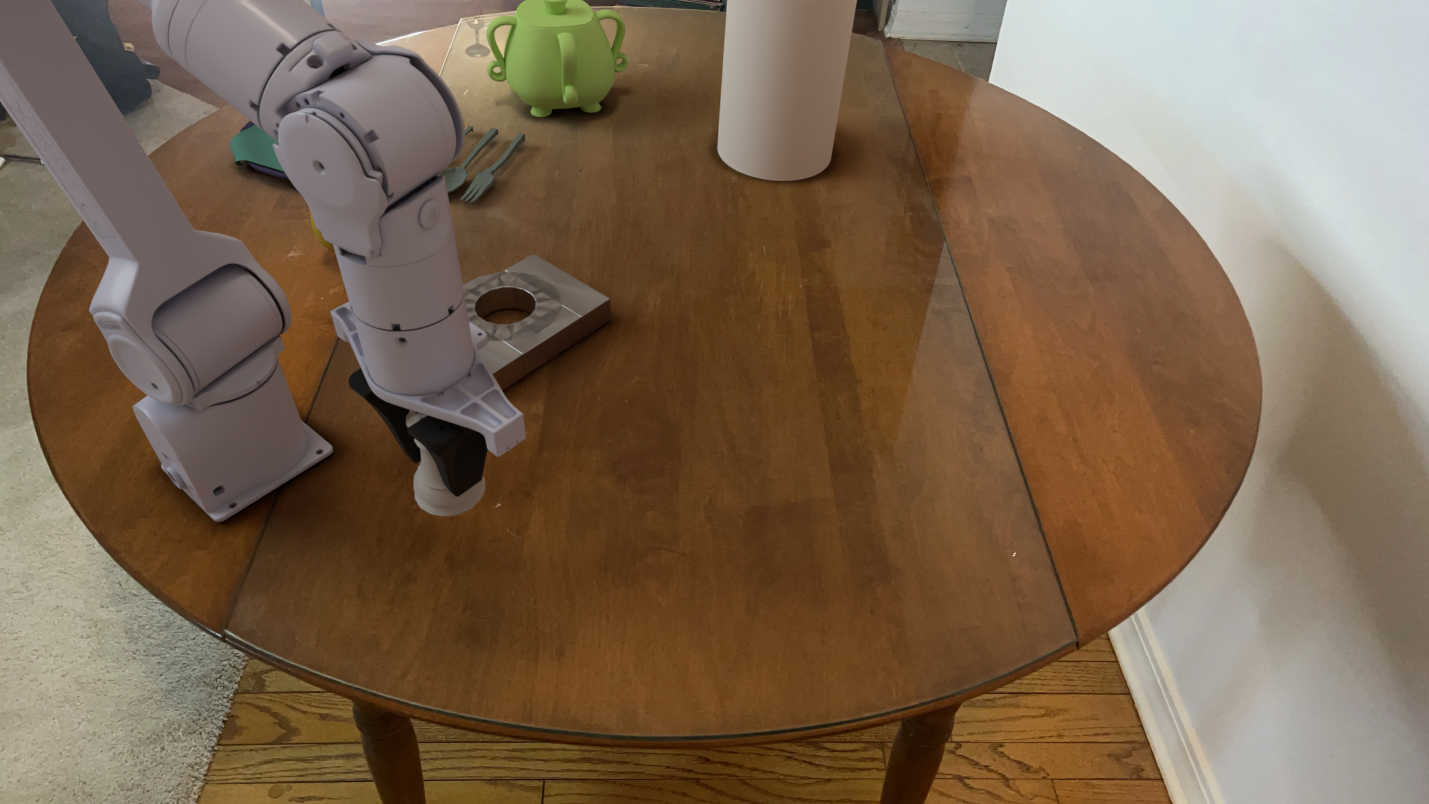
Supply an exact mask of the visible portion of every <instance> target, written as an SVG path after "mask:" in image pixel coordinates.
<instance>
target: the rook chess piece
mask: <svg viewBox="0 0 1429 804" xmlns="http://www.w3.org/2000/svg"><path fill="white" fill-rule="evenodd" d="M426 416H427V415H426V414H422V413H419V412H416V411H413V410H410V411H409V413H408V414H407V416H406V425H407V427H410V426H411V425H413V424H415V423H416V422H418V421H419V420H421V419H422V418H424V417H426ZM414 441H415V443H416V444H417V446H418V447H420V451H421V461H420V462H419V463H418V464H419V465H417V470H416V471H415V473H414V475H413V491H414V500H415V502H416V503H417V505H418V507H419V508H420V509H421V510H423V511H425V512H426V513H428V514H430V515H432V516H438V517H443V518H449V517H456V516H461V515H462V514H464V513H467V512H469V511H470V510H472V508H474V507H475V506H476V505H477V504H478V503H479V502H480V501H481V500H482V499H483V496H484V494H485V492H486V479H485V477H484V475H483V476H482V480H481V481H480V482H478V483H477V484H476V485H474V486H473V487H471V488H470V489H469V490H467V491H466V492H464V493H463V494H462V495H460V496H459V497H456V496H455V495H454V494H452V493H451V492H450V491H449V490H448V489H447V487H446V486H445V484H444V483H443V480H442V478H441V476H440V473H439V471H438V468H437V466H436V463H435V461H434V460H433V458H432V456H431V455H430V453H429V452H428V451H427V449H426V448H425V447H424V446H423V445H422V444H421V443H420V442H419V441H417V440H416V439H415V438H414Z"/></svg>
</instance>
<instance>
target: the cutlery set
mask: <svg viewBox="0 0 1429 804" xmlns="http://www.w3.org/2000/svg"><path fill="white" fill-rule="evenodd" d="M471 132H473V133H474V132H475V131H474V127H473V126H472V125H469V124H468V125H467V127H466V129H465V137H466V136H467V135H468V134H469V133H471ZM498 135H499V128H495V127H490V129H489V130H488V131H487V132H486V133H485V135H484V136H483V137H482V138H481V139H480V140H479V142H478V143H477V144H476V145H475V147H474V148H473V149H472V151H471V152H470V153H469V155H468V156H467V157H466V159H465V160H464V161H463V163H462V164H461V165H460V166H455V167H450V168H448V169H447V168H446V169H444V170H443V171H441V172H440V173H439V174H443V175H445V180H446V186H447V192H448V194H449V193H453V192H455V191H457V190H458V189H460V188H461V187H462V186H464V183H465V182H466V180H467V176H468V174H467V171H466V168H467V167H468V166H469V165H470V163H471V162H472V161H474V159H476V157H477V156H478V154H479V153H481V151H482V150H483V149H484V148H485V147H486V146H487V145H488V144H490V142H491V141H492V140H493V139H495V138H496V137H497V136H498ZM525 142H526V134H525V133H522V132H521V133H520V132H519V133H518V134H517V135H516V137H515V138H514V139H513V140H512V141H511V143H510V144H509V146H508V147H507V149H506V150H505V151H504V152H503V154H501V156H500V157H499V158H498V159H497V160H496V161H495V162H494V163H493V164H492V165H491V166H490V167H489V168H487V167H485V168H484V171H482V172H477V173H476V175H475V177H474V179H473V181H472V182H471V183H470V185H469V187H468V188H467V189H466V191H465V192H464V194H462V196H461V197H460V198H459V201H460V202H463V201H464V202H465V203H470V204H473V203H475V202H477V201H478V200H479V198H481V196H482V195H484V194H485V192H487V191H488V190H489V189H490V188H491V187H493V186H494V184H495V173H497V172H498V171H499V170H500V169H501V168H503V167H504V166H505V165H506V164H507V162H508V161H509V160H510V159H511V157H513V156H514V154H515V153H516V151H518V149H519V148H520V147H521V146H522V144H524V143H525ZM275 143H276V144H278V145H279V143H278V142H277V141H275V140H274V139H273V138H272V137H270V136H269V135H268V134H267V133H265V132H264V131H263V130H262V129H260V128H259V127H258V126H256V125H255V124H254V123H253V122H251V121H250V120H249V121H247V123H246V124H245V125H244V126H243V127H242V128H240V130H239V132H238V133H236V134H235V135H234V136H233V137H232V138H231V140H230V143H229V148H230V152H231V153H232V156H233V158H234V164H236V165H237V166H240V167H245V165H244V164H243V163H242V162H241V161H244V162H245V163H246V164H248V165H249V166H250V167H252V168H253V169H254V170H255V171H258V172H261V173H262V174H263V173H264V174H266V175H269V176H272V177H276V178H279V179H283V180H289V178H288V177H287V175H286V173H285V172H284V170H283V168H282V166H281V165H280V163H279V161H278V158H277V156H276V154H275V151H274V148H273V144H275Z"/></svg>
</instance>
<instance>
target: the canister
mask: <svg viewBox="0 0 1429 804" xmlns="http://www.w3.org/2000/svg"><path fill="white" fill-rule="evenodd" d="M857 2H858V0H726V10H725V11H726V12H725V13H726V14H725V25H724V26H725V27H724V42H723V56H722V71H721V72H722V73H721V87H720V101H719V102H720V104H719V116H718V118H719V119H718V120H719V121H718V131H717V132H718V133H717V146H716V148H717V153H718V156H719V157H720V159H721V160H722V161H723V162H724V163H725V164H726V165H727V166H728V167H730V168H731V169H733V170H735V171H736V172H738V173H741V174H744V175H746V176H749V177H753V178H757V179H761V180H767V181H775V182H788V181H789V182H792V181H799V180H804V179H808V178H812V177H814V176H816V175H819V174H820V173H822V172H823V171H824V170H825V169H827V168H828V166H829V165H830V163H831V160H832V154H833V150H834V149H833V148H834V143H835V135H836V131H837V125H838V118H839V114H840V113H839V112H840V106H841V101H842V100H841V99H842V93H843V87H844V81H845V77H846V70H847V63H848V57H849V51H850V46H851V39H852V34H853V33H852V32H853V27H854V22H855V16H856V15H855V14H856V9H857V4H858V3H857Z"/></svg>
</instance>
